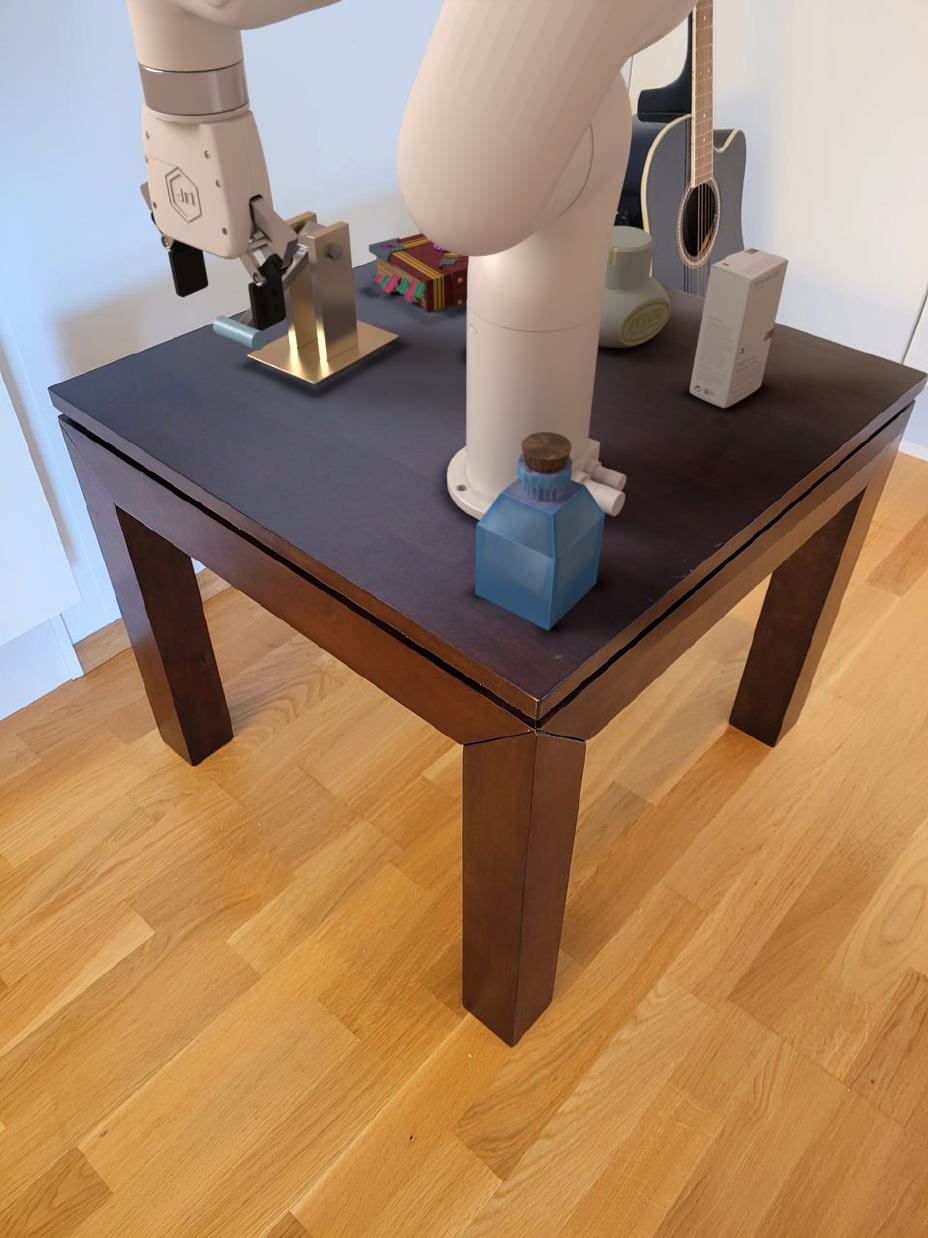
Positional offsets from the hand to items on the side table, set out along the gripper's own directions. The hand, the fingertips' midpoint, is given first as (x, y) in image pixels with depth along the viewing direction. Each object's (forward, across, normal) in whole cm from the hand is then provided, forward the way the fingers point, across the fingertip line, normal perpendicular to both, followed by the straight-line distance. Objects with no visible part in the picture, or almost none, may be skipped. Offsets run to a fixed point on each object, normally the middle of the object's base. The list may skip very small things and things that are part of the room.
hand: (230, 307), depth 82 cm
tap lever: (+1, 0, +6) cm, 6 cm away
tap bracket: (+8, +1, +10) cm, 13 cm away
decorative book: (+9, +1, +30) cm, 31 cm away
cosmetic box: (+8, +35, +28) cm, 45 cm away
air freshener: (+8, +21, +31) cm, 38 cm away
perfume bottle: (+8, +37, -6) cm, 38 cm away
